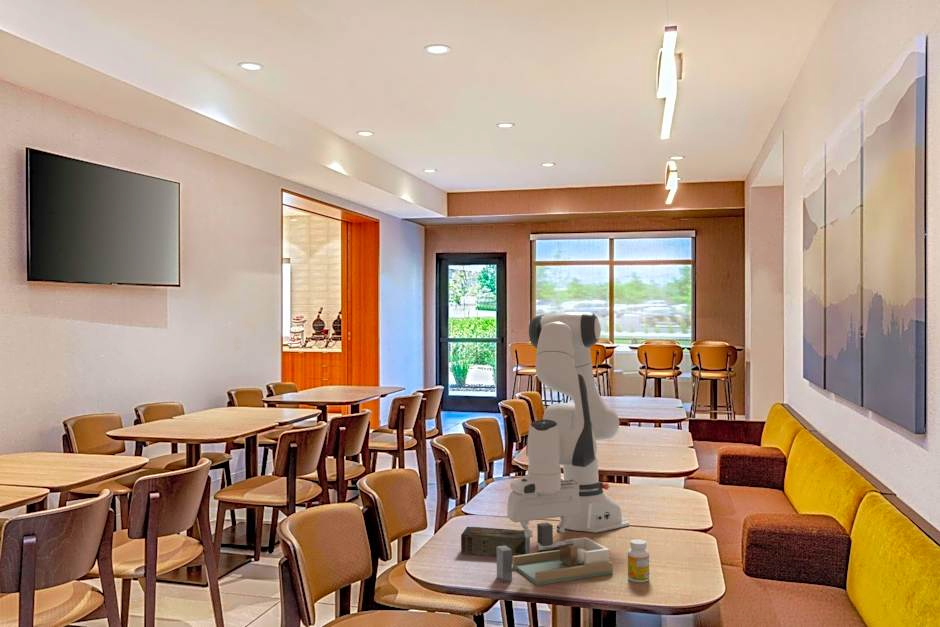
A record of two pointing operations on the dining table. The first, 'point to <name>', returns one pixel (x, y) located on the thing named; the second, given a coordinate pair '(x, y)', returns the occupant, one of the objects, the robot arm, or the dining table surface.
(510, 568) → the grey tall block
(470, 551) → the olive storage box
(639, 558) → the supplement bottle
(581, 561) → the ball
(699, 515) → the dining table surface
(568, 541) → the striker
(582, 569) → the foosball board
